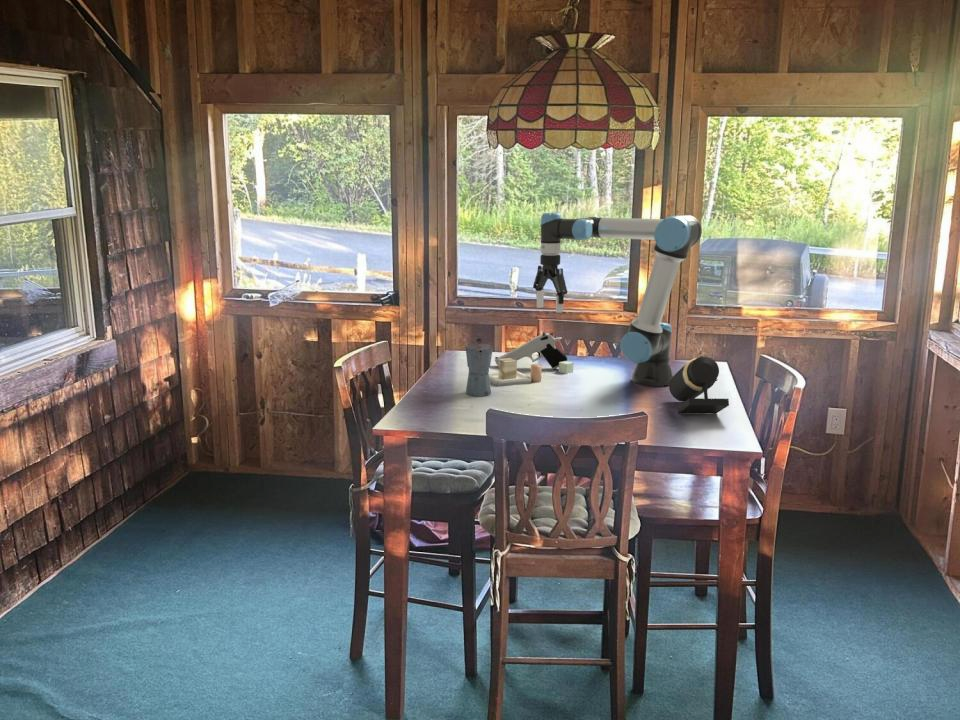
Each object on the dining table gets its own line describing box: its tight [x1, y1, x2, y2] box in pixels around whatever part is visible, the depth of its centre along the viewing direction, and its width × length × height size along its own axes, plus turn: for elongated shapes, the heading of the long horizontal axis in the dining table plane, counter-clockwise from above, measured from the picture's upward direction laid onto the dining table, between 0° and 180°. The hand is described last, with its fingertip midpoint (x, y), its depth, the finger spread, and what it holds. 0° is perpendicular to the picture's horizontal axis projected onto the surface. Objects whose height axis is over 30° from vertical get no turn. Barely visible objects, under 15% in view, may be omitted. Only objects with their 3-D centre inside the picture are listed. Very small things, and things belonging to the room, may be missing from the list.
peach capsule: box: [530, 363, 543, 383], centre depth 337 cm, size 4×4×6 cm
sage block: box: [558, 361, 574, 375], centre depth 352 cm, size 4×4×4 cm
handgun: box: [494, 331, 569, 370], centre depth 357 cm, size 4×28×15 cm, turn 85°
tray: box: [488, 370, 532, 387], centre depth 337 cm, size 12×14×2 cm
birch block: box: [497, 358, 518, 380], centre depth 336 cm, size 5×5×7 cm
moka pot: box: [465, 338, 494, 397], centre depth 317 cm, size 10×15×20 cm, turn 9°
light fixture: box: [668, 355, 730, 414], centre depth 302 cm, size 13×18×26 cm
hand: (549, 310), depth 343 cm, fingers open, 13 cm apart
